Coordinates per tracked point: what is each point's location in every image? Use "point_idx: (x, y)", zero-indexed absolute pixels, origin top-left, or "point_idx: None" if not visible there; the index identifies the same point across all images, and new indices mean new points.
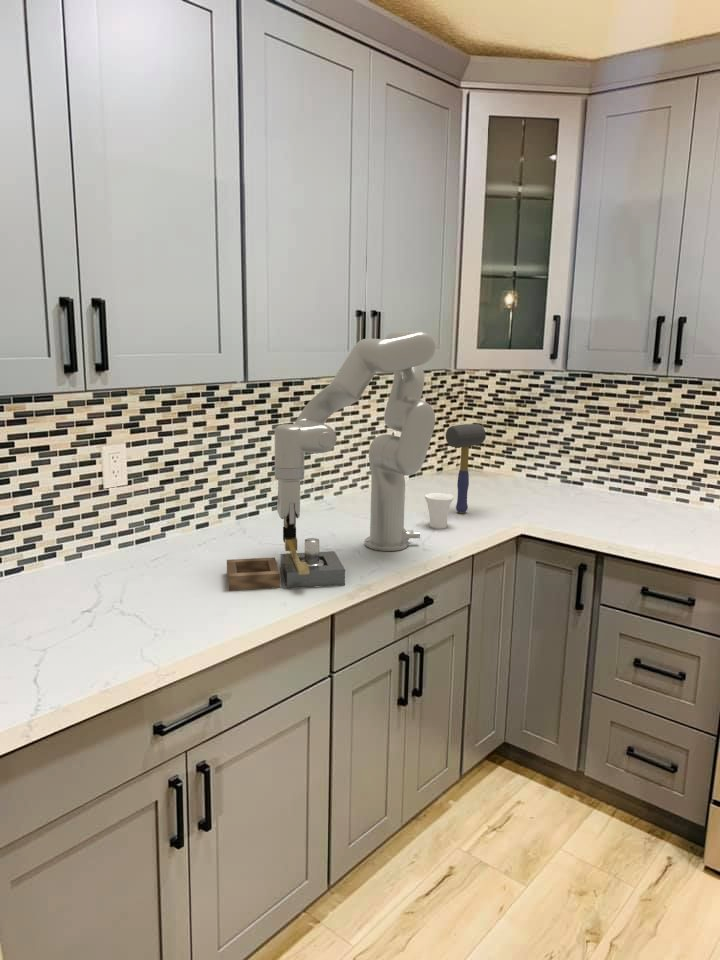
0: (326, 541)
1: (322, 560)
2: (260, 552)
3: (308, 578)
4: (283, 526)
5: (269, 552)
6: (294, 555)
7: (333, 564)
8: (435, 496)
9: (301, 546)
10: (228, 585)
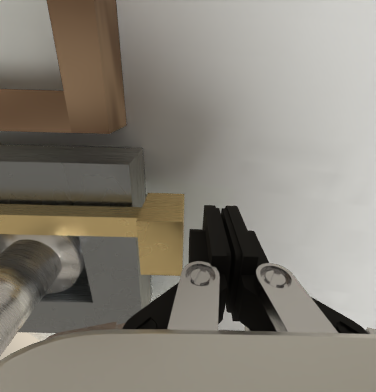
0: (361, 310)
1: (57, 292)
2: (360, 92)
3: None
4: (256, 258)
5: (342, 131)
6: (6, 221)
7: None
8: None
9: (353, 246)
10: None
